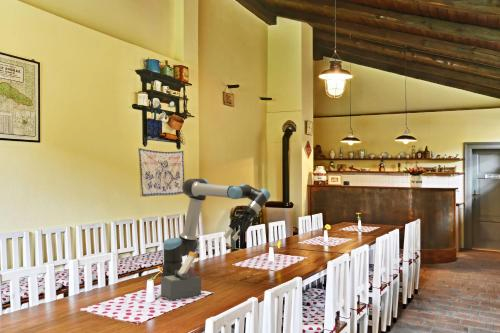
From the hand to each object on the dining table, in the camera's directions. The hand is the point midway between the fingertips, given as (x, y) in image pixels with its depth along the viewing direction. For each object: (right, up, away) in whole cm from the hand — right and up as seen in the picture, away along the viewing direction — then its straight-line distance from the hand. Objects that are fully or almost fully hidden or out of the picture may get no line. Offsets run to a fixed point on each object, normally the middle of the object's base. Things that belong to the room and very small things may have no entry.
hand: (229, 238), depth 263 cm
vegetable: (-24, -29, +5) cm, 38 cm away
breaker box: (-26, -29, -17) cm, 42 cm away
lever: (-26, -17, -17) cm, 35 cm away
